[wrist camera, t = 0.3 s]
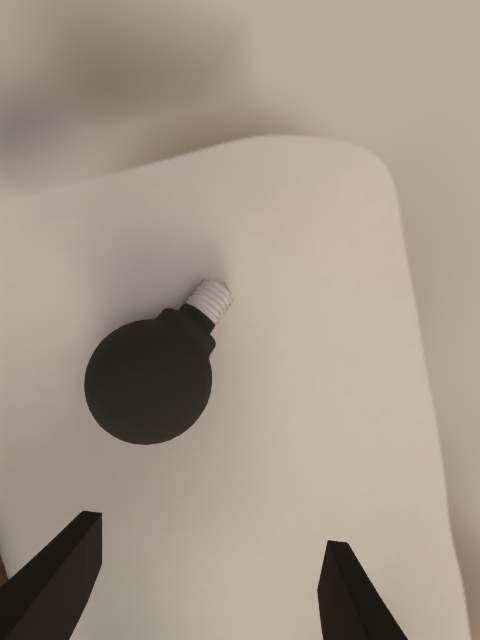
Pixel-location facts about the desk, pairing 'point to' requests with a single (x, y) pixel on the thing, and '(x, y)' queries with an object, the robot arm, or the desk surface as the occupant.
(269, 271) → the desk surface
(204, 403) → the light bulb
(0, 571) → the holder
